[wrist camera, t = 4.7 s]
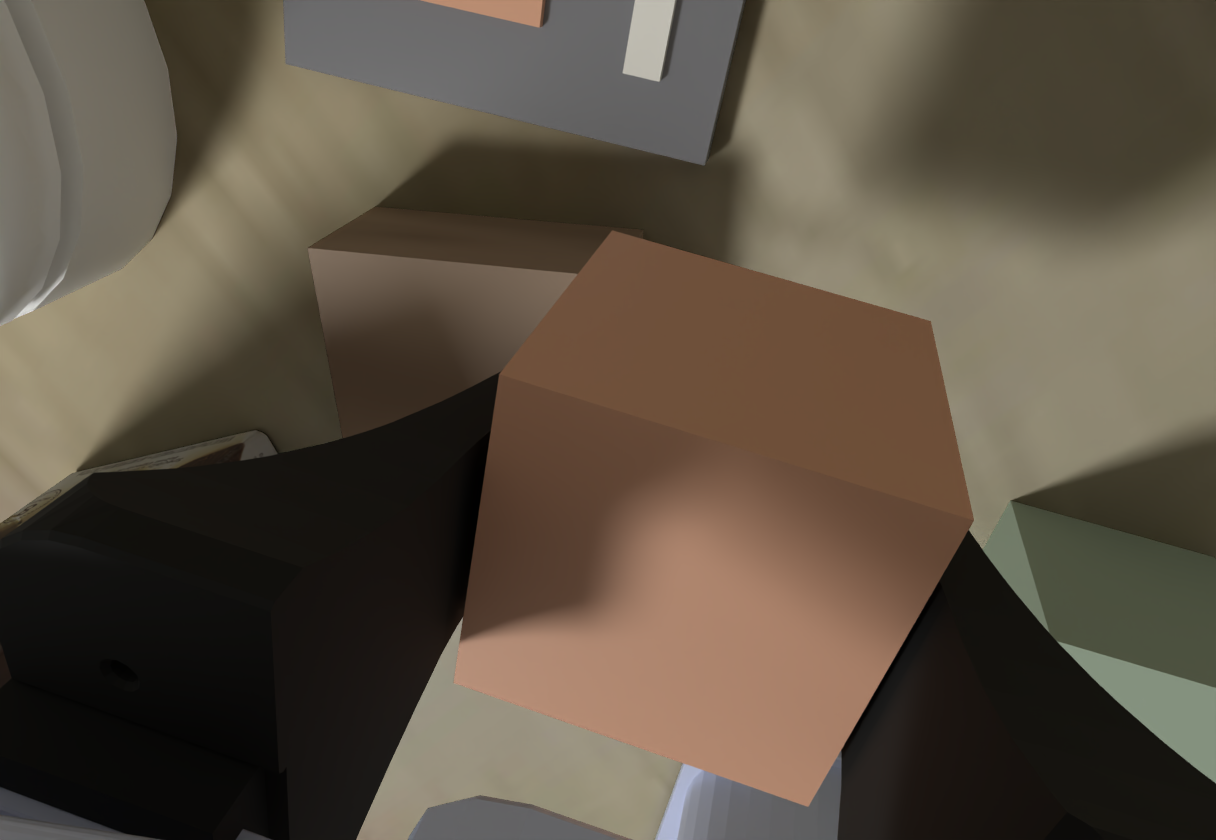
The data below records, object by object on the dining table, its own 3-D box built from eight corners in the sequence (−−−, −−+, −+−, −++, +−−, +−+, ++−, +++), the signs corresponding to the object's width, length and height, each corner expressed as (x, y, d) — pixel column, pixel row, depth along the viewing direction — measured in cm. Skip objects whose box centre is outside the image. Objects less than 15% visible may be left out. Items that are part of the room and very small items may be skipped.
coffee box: (261, 419, 26) (-376, 958, 12) (357, 578, 28) (-81, 1166, 15) (65, 467, 29) (-603, 932, 16) (167, 605, 32) (-330, 1105, 18)
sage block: (1112, 685, 23) (1171, 852, 19) (934, 632, 24) (954, 782, 20) (1212, 555, 21) (1307, 715, 16) (1009, 498, 21) (1051, 639, 17)
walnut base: (637, 465, 24) (609, 541, 21) (410, 433, 25) (354, 500, 22) (645, 225, 20) (613, 277, 17) (380, 204, 21) (307, 247, 18)
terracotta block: (818, 563, 15) (808, 806, 11) (559, 481, 16) (453, 683, 11) (930, 321, 12) (973, 520, 8) (612, 230, 13) (499, 373, 9)
